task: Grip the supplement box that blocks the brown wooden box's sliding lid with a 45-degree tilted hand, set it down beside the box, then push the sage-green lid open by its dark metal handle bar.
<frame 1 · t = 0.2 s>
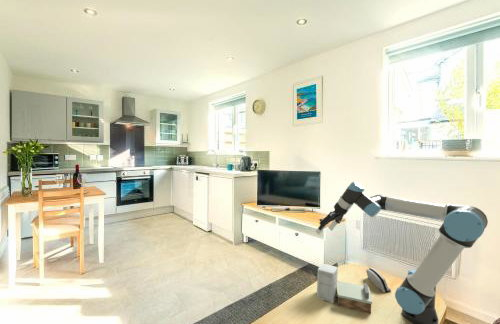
hand: (323, 231, 149), 35 cm above the table, tool tilted 35°, fingers open, 13 cm apart
brown wooden box: (353, 302, 135), on the table
lid: (353, 289, 135), point 7 cm above the table, slide at 0.0 cm
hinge: (376, 285, 154), on the table
supplement box: (327, 296, 140), on the table
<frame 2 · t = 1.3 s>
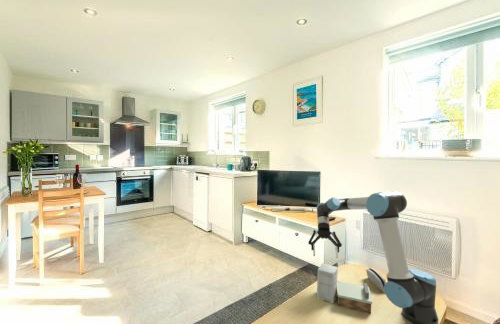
hand: (325, 256, 149), 19 cm above the table, tool tilted 45°, fingers open, 13 cm apart
nothing on the table moved.
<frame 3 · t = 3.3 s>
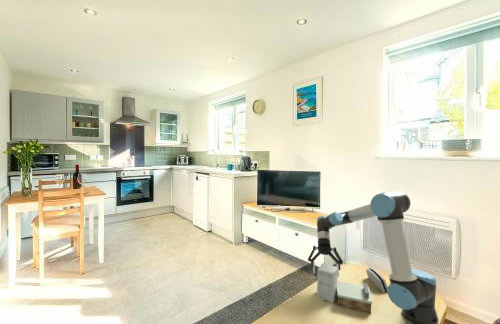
hand: (326, 274, 142), 12 cm above the table, tool tilted 45°, fingers open, 13 cm apart
nothing on the table moved.
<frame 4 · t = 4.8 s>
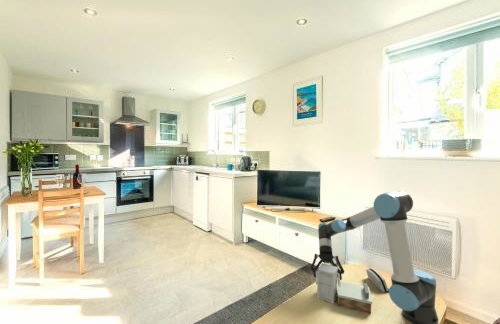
hand: (328, 284, 137), 8 cm above the table, tool tilted 45°, fingers closed on supplement box, 12 cm apart
supplement box: (327, 296, 140), on the table, touching gripper
everything else where it was.
when the fingers open (10 cm above the table, at t = 11.0 s): supplement box drops 1 cm, on the table.
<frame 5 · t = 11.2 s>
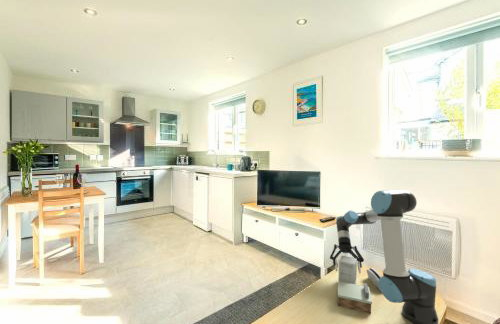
hand: (348, 271, 149), 10 cm above the table, tool tilted 45°, fingers open, 13 cm apart
supplement box: (347, 286, 151), on the table
everything else where it was.
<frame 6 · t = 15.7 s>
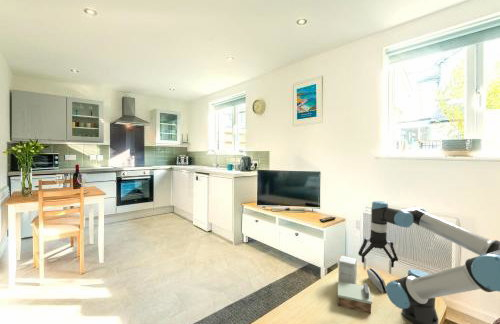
hand: (377, 270, 131), 20 cm above the table, tool pointing down, fingers open, 11 cm apart
nothing on the table moved.
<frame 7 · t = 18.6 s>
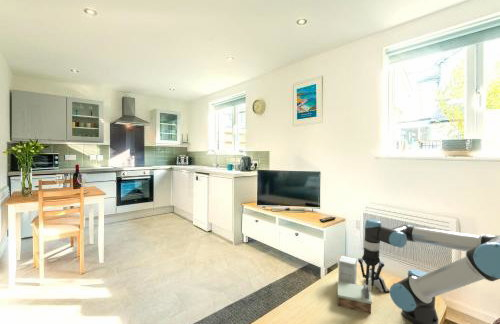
hand: (369, 290, 133), 8 cm above the table, tool pointing down, fingers closed
lid: (353, 289, 135), point 7 cm above the table, slide at 0.1 cm, touching gripper
everything else where it was.
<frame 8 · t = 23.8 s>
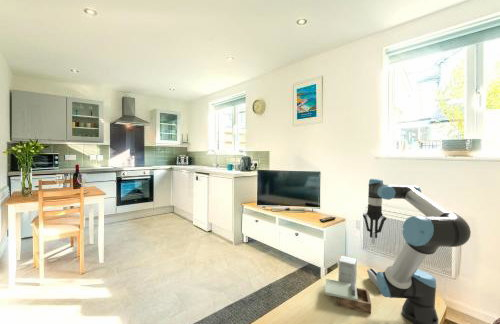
hand: (373, 242, 148), 28 cm above the table, tool pointing down, fingers closed
lid: (340, 286, 137), point 7 cm above the table, slide at 6.7 cm
everything else where it was.
at the end: lid slide at 6.7 cm; supplement box inside the target area (0.4 cm from its centre), on the table; supplement box tilted 0° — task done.
